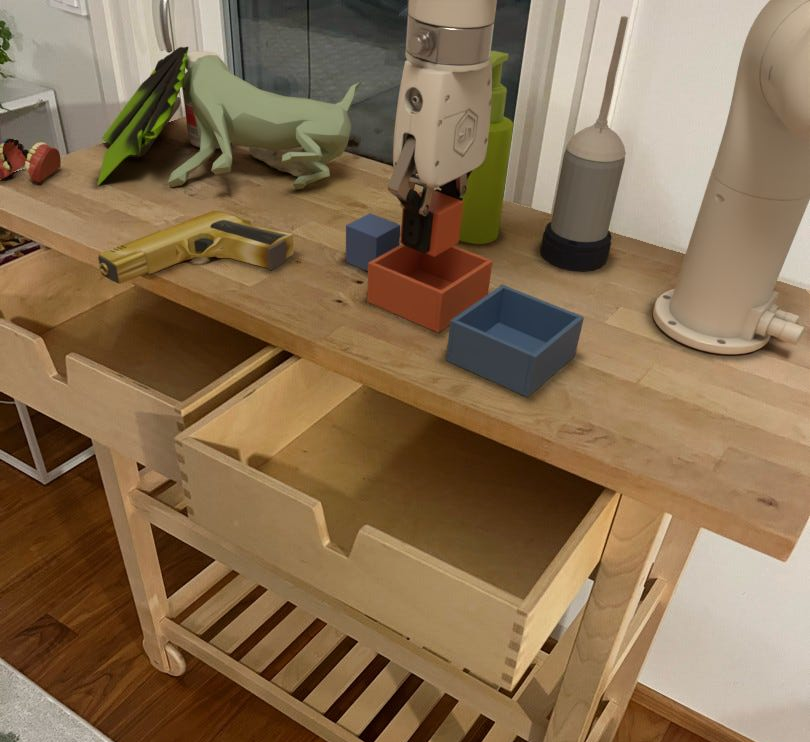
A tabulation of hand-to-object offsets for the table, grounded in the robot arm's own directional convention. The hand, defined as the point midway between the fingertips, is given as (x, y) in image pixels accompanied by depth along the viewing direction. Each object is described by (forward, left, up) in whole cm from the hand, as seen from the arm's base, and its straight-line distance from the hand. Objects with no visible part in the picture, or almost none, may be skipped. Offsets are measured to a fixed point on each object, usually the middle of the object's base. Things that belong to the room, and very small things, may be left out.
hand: (430, 238), depth 85 cm
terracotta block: (0, 0, -1) cm, 1 cm away
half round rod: (+57, -12, -5) cm, 59 cm away
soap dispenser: (+5, -17, -7) cm, 19 cm away
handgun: (+17, +11, -6) cm, 21 cm away
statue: (+31, -9, -7) cm, 33 cm away
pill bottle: (+49, -15, -7) cm, 51 cm away
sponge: (+36, -17, -7) cm, 41 cm away
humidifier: (-7, -21, -7) cm, 23 cm away
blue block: (+10, -3, -7) cm, 12 cm away
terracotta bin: (0, 0, -7) cm, 7 cm away
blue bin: (-13, +4, -7) cm, 15 cm away
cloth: (+50, -4, -1) cm, 50 cm away
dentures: (+53, +7, -4) cm, 54 cm away
